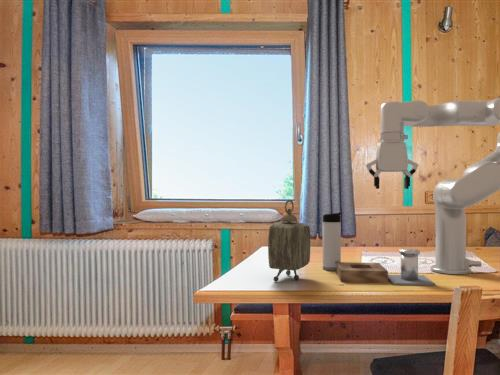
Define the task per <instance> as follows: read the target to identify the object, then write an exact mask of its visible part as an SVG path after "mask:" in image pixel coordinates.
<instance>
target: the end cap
mask: <svg viewBox="0 0 500 375" xmlns="http://www.w3.org/2000/svg"><path fill="white" fill-rule="evenodd" d="M398 253H399V254H400V275H401V279H402V280H407V281H417V280H418V275H419V255H420V254H421V252H420V249H417V248H399V249H398Z"/></svg>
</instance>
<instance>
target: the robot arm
mask: <svg viewBox="0 0 500 375" xmlns="http://www.w3.org/2000/svg"><path fill="white" fill-rule="evenodd" d="M496 125H500V97H496V98H494V99H492V100H451V101H447V102H444V103H439V104H434V105H432V104H431V105H429V104H428V103H427V102H425V101H423V100H419V99H418V100H416V99H415V100H410V101H402V102H401V101H387V102H384V103H382V104H381V105H380V142H377V147H376V154H375V155H376V156H375V157H376V158H375V159H374V160H372V161H371V162H368V163H367V164H365V167H366V170H367V171H368V173H369V174H370V175H371V176H372V177H373V187H375V189H377V190H378V189H380V177H379V175H380V174H381V173H383V172H384V173H388V172H389V173H397V172H399V173H400V172H401V173H403V175H404V178H403V181H404V182H403V183H404V184H403V188H404V189H405V190H409V187H411V177H412V176H413V174H416V172H417V169H418V168H419V164H418V163H417V162H414V161H413V160H410V159H409V158H408V148H407V144H406V142H405V140H408V139H409V135H408V134H405V132H404V130H405V129H404V127H411V128H412V127H413V128H414V127H416V128H417V127H419V128H420V127H421V128H426V127H429V128H430V127H431V128H432V127H491V126H496ZM374 165H375V171H374V170H373V169H372V166H374ZM409 166H411V167H412V168H411V169H410V171H409V170H408V169H409ZM498 191H500V131H499V132H498V134H497V138H496V147H495V149H494V151H492V152H491V153H489V154H488V155H487V156H485V157H483V158H482V159H480V160H478V161H477V162H475V163H473V164H471V165H469V166H468V167H467V168H465V169H464V171H463V172H462V176H461V177H460V178H446V179H445V178H444V179H442V180H440V181H439V182H438V183H437V184H436V185H435V187H434V188H433V196H432V198H433V205H434V212H435V214H434V215H435V263H434V264H432V265H430V270H431V271H432V272H435V273H440V274H445V275H468V274H471V273H472V267H477V268H478V267H479V268H481V267H482V261H481V260H471V259H469V258H467V215H466V211H465V209H466V208H470V207H473V206H474V205H476V204H478V203H480V202H482V201H483V200H485V199H487V198H489V197H490V196H491V195H493V194H495V193H497V192H498Z"/></svg>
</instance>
